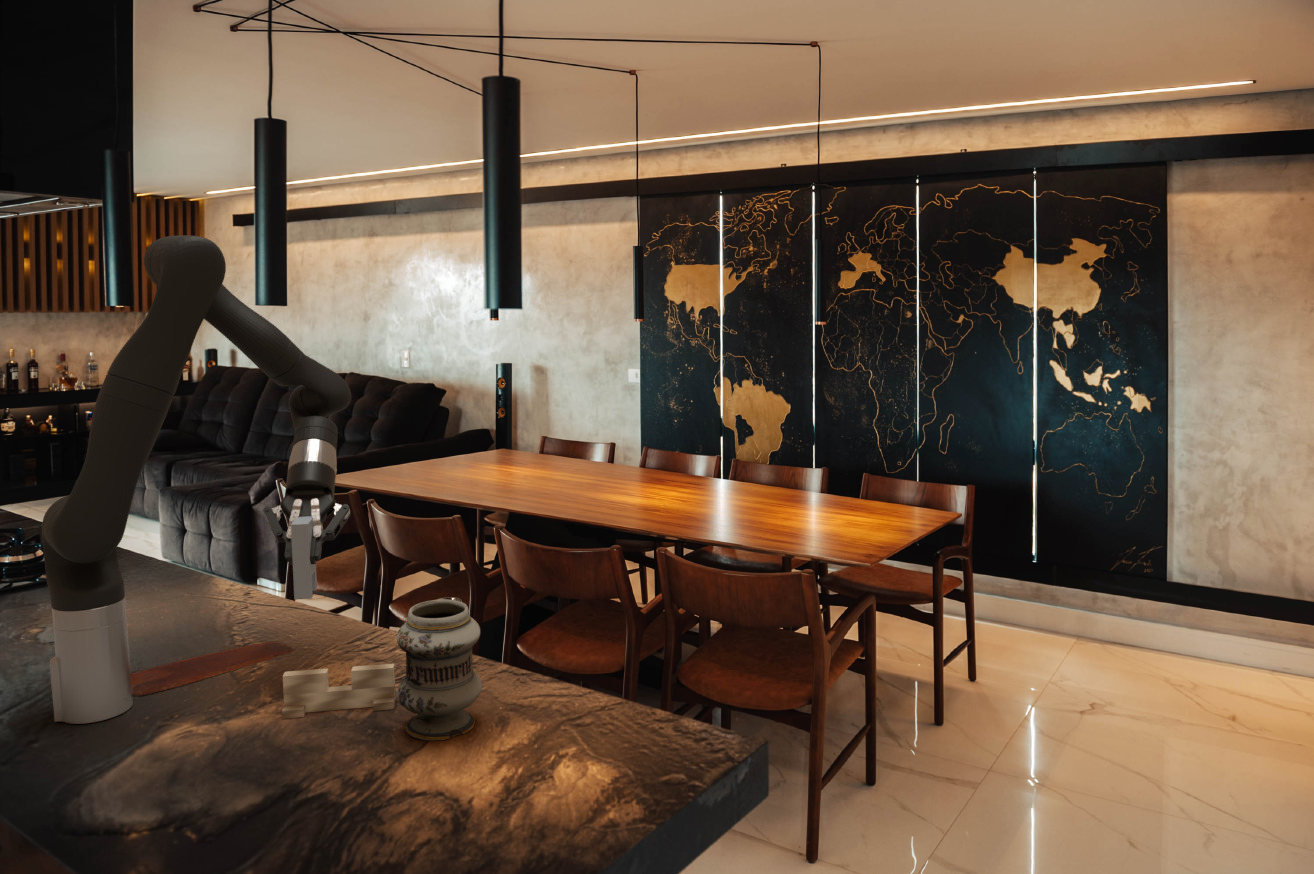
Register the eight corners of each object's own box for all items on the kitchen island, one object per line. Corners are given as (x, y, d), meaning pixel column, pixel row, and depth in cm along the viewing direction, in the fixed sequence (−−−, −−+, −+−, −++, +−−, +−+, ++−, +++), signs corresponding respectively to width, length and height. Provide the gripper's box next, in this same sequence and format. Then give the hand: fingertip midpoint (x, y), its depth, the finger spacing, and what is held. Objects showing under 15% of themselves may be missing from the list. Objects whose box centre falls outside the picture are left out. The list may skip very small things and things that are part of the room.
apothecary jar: (428, 753, 117) (424, 627, 115) (382, 726, 125) (378, 608, 123) (499, 724, 126) (497, 607, 124) (452, 700, 134) (449, 589, 132)
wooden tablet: (138, 702, 134) (137, 692, 134) (116, 685, 140) (115, 675, 140) (301, 654, 154) (300, 646, 154) (275, 641, 160) (275, 632, 160)
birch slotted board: (282, 718, 127) (280, 680, 126) (289, 704, 132) (287, 667, 131) (393, 709, 131) (392, 671, 130) (396, 695, 135) (395, 659, 135)
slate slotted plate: (294, 599, 133) (290, 524, 131) (300, 589, 138) (297, 516, 136) (311, 598, 133) (308, 523, 132) (317, 588, 138) (313, 516, 137)
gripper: (263, 460, 139) (249, 552, 128) (353, 458, 142) (346, 547, 131) (271, 486, 144) (258, 576, 134) (357, 483, 148) (351, 571, 137)
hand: (302, 561), depth 133 cm, fingers closed on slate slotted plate, 2 cm apart
